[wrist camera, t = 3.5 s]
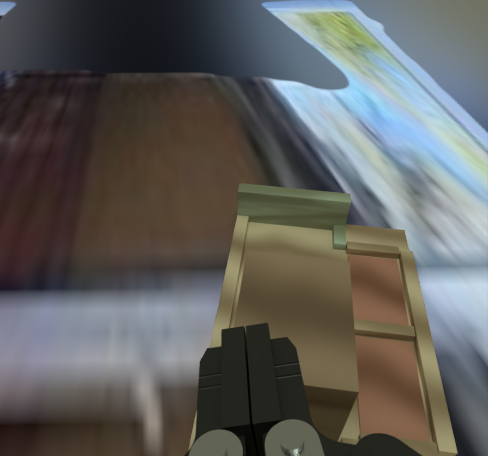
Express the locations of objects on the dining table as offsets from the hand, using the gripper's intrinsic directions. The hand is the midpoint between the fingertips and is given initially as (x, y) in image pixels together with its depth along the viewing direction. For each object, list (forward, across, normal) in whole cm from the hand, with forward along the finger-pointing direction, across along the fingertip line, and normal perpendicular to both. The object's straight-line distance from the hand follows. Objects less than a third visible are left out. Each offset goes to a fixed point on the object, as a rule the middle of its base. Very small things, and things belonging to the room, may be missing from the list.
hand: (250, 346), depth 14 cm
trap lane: (+18, +5, -17) cm, 26 cm away
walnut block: (+10, 0, -17) cm, 20 cm away
